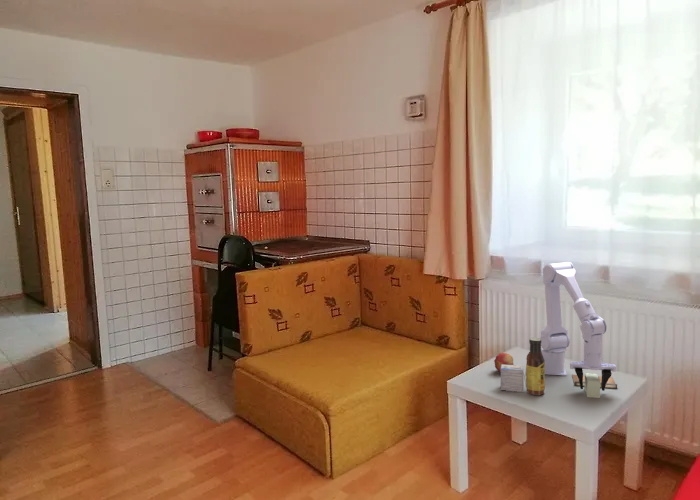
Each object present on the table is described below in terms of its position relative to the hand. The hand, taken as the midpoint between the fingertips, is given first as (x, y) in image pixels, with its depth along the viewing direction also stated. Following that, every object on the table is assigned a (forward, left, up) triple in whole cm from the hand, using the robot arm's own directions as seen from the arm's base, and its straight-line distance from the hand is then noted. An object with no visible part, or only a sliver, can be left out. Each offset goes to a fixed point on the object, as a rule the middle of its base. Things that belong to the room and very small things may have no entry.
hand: (592, 388), depth 178 cm
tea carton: (0, 0, -2) cm, 2 cm away
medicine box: (-27, -2, -2) cm, 27 cm away
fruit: (-30, +13, -2) cm, 33 cm away
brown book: (+2, +10, -2) cm, 10 cm away
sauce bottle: (-19, -3, -2) cm, 19 cm away
